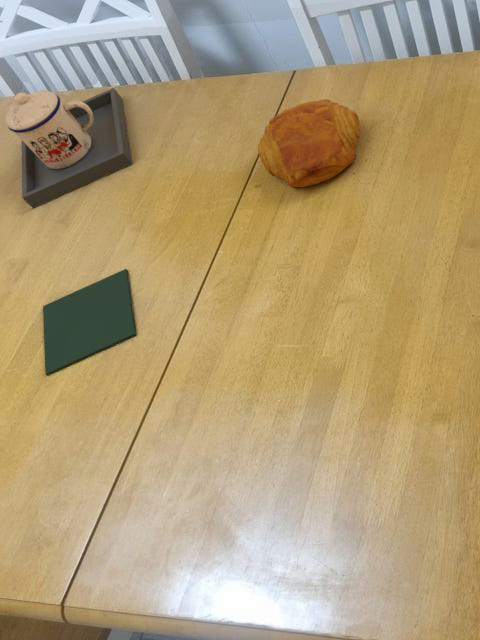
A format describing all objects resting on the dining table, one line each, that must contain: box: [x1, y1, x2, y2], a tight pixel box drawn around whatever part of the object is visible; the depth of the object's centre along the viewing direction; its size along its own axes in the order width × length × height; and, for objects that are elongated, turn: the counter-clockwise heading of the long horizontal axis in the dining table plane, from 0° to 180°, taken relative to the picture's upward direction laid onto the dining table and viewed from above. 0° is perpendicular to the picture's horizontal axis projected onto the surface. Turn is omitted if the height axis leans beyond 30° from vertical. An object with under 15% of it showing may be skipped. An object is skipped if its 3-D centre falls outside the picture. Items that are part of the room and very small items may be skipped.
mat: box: [42, 268, 137, 376], centre depth 102 cm, size 13×13×1 cm
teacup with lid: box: [5, 90, 94, 169], centre depth 119 cm, size 12×9×12 cm
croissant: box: [257, 98, 361, 188], centre depth 108 cm, size 14×16×8 cm
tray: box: [20, 87, 133, 209], centre depth 124 cm, size 18×20×2 cm
